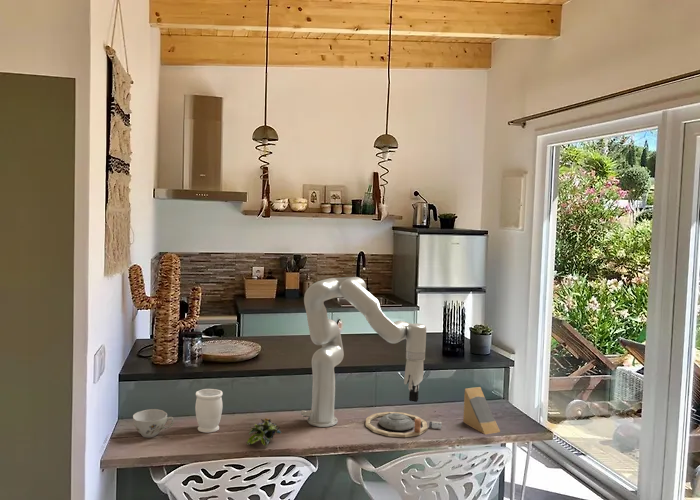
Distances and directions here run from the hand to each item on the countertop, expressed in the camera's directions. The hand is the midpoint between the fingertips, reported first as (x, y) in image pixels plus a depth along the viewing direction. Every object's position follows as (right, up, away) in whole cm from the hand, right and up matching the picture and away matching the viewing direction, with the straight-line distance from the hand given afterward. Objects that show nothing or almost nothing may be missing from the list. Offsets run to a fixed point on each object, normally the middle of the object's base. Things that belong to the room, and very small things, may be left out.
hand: (413, 400), depth 239 cm
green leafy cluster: (-58, -14, -11) cm, 60 cm away
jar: (-82, -12, +2) cm, 83 cm away
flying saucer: (-6, -15, +14) cm, 21 cm away
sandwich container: (+31, -16, +17) cm, 38 cm away
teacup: (-101, -12, -6) cm, 102 cm away
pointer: (+11, -15, +13) cm, 23 cm away
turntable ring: (-6, -14, +14) cm, 21 cm away
